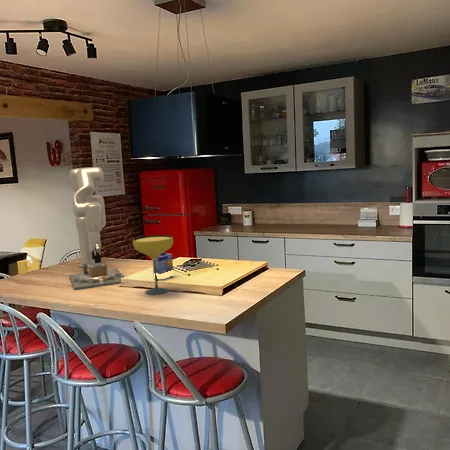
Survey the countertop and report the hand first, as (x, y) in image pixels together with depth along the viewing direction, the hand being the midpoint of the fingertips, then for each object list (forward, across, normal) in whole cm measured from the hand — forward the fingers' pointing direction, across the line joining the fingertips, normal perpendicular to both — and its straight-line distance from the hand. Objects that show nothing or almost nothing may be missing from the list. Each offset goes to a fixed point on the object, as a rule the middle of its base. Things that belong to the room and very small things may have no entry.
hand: (96, 260), depth 242 cm
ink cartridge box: (+11, +14, +31) cm, 36 cm away
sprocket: (+9, -4, 0) cm, 10 cm away
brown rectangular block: (+7, +1, 0) cm, 8 cm away
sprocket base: (+11, -4, 0) cm, 12 cm away
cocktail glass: (+10, +38, +21) cm, 45 cm away
